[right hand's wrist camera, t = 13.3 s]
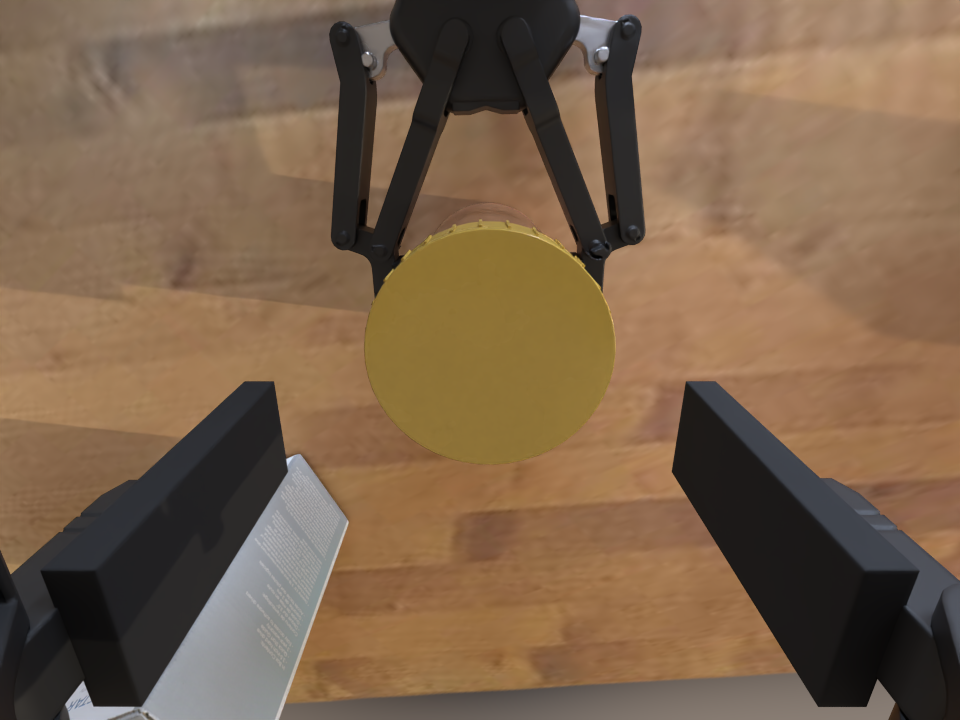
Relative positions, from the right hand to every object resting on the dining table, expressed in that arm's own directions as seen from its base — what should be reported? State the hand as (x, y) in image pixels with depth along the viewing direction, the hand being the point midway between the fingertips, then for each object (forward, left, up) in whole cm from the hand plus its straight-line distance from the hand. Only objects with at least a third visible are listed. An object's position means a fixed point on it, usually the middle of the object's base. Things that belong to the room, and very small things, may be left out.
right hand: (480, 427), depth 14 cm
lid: (0, 0, -5) cm, 5 cm away
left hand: (+4, +1, -15) cm, 16 cm away
